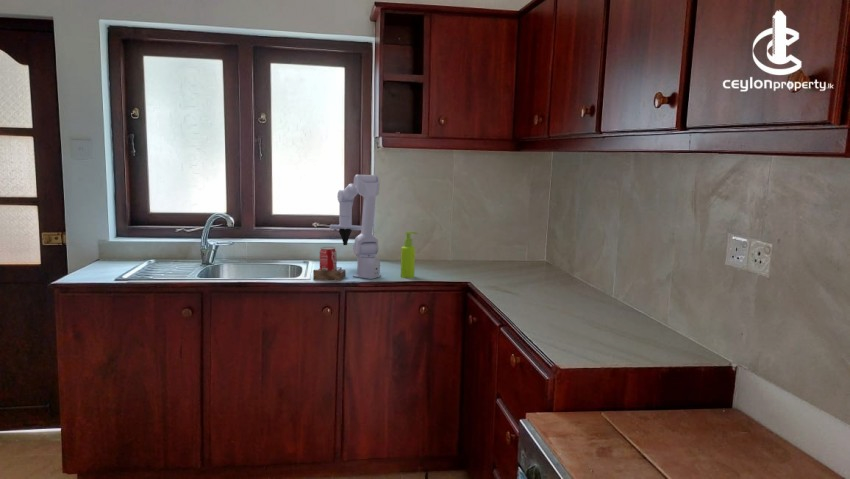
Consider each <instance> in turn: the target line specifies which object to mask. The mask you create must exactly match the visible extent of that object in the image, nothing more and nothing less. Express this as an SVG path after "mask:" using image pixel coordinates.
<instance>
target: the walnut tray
mask: <svg viewBox="0 0 850 479" xmlns="http://www.w3.org/2000/svg"><path fill="white" fill-rule="evenodd" d="M312 272H313V273H312V274H313V275H312V278H313V279H312V280H316V281H331V282H332V281H336V282H341V281H342V280H343V279H344V278H345V277H346V269H342V271H330V270H320V268H318V269H313V271H312Z"/></svg>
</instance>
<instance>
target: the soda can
mask: <svg viewBox="0 0 850 479" xmlns="http://www.w3.org/2000/svg"><path fill="white" fill-rule="evenodd" d="M337 254H338V253H337V250H336V247H334V246H323V247H320V250H319V269H320V270H330V271H337V267H338V266H337V259H338V258H337V256H338V255H337Z"/></svg>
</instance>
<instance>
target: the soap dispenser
mask: <svg viewBox="0 0 850 479" xmlns="http://www.w3.org/2000/svg"><path fill="white" fill-rule="evenodd" d="M418 233H419V232H416V231H412V230H411V231H405V232H404V234H406V238H404V245H403V246H401V248H400V249H401V250H400V251H401V254H400V260H401V261H400V277H401V278H403V279H413V278H415V266H416V265H415V263H416V262H415V260H416V256H415V255H416V247H415V246H413V239H412V238H411V234H414V235H415V234H416V235H418Z"/></svg>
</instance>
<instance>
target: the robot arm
mask: <svg viewBox="0 0 850 479" xmlns="http://www.w3.org/2000/svg"><path fill="white" fill-rule="evenodd" d="M380 184H381V181H380V179H379V176H378V175H377V174H355V175H354V177H353V183H348V185H347V186H346V187H345V188H344V189H339V190H338V192H337V201H338V202H337V203H338V204H339V212H338V214H339V216H338V218H339V223H338V224H329V230H338V233H339V235H340V237H341V241H342V244H343V246H348V242H349V239H350V236H351V233H352V232H353V231H360V233H359V234H358V235H356V236H355V239H354V243H353V247H352V249H353V254H354V255H355V257H357V258H356V261H357V266H356V267H357V268H356V272H357V273H356V274H353V275H352V276H353V277H355V278H360V279H361V278H362V279H366V280H367V279H369V280H373V279H376V278H379V277H381V276H382V275H381V261H380V259H379V258H378V257H376V256H377V255H378V253H379V249H380V248H379V247H380V246H379V240H378V237H377V236H375V235H374V234H373V232H374V218H375V208H376V197H377V196H378V195H379V193H380V192H379V191H380ZM357 195H360V196H361V197H362V198H363V203H362V216H361V217H362V218H361V225H354V224H353V222H352V221H353V219H352V218H353V217H352V216H353V213H352V212H353V211H352V209H353V206H354V200H355V197H356V196H357Z"/></svg>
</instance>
